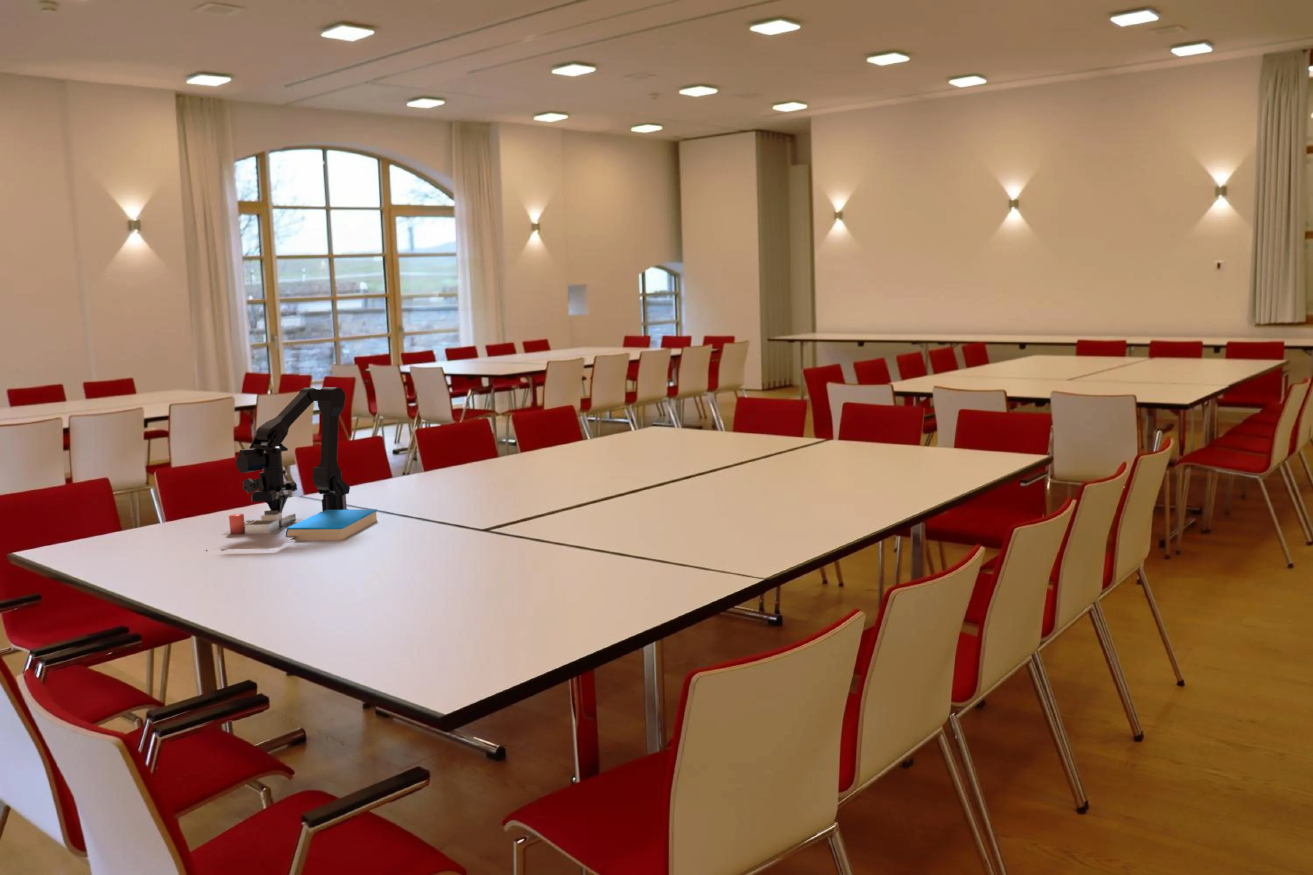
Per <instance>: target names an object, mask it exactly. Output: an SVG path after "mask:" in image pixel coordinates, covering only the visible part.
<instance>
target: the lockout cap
mask: <svg viewBox="0 0 1313 875" xmlns="http://www.w3.org/2000/svg"><path fill="white" fill-rule="evenodd" d="M244 516H245V514H244V513H234V514H233V513H232V514H229V515H228V521H229V522H228V523H229V531H230V533H231V534H238V533H243V532H245V523H244V522H245V517H244Z"/></svg>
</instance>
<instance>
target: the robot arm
mask: <svg viewBox="0 0 1313 875" xmlns="http://www.w3.org/2000/svg"><path fill="white" fill-rule="evenodd" d="M346 398H347V396H346V392H345V391H344V390H343V388H341V387H329V386H327V387H326V386H323V387H321V388H313V387H303V388H302V389H300V390H299V393H298V394H297V395H296V396H295V397H294V398H293V399H292V400H291V401H290V402H289V403H288V404H287V405H286V406H285V408H283V409H282V411H280V412H279V414H277V416H275V417H274V418H271V419H270V420H267V421H266V422H265V423H263V424H261V425H260V426H258V428H257V429H256V431H255V436H254V438H253V440H252V442H251V444H250V446H249V448H247V449H244V448H243V449H242V448H241V449H239V454H238V455H237V457H236V460H235V465H236V469H237V470H238V472H239V473H241V474H246V473H247V474H248V473H252V472H258V471H261V470H262V472H259V477H257V478H255V479H252V478H251V477H250V478H247V479H244V480H243V482H242V490H244V491H246V493H247V494H251V495H250V497H251V502H253V503H255V502H256V503H257V502H258V503H259V502H261V503H262V502H264V503H266V504H267V506H268V508H269V509H270V510H278V513H282V514H283V510H284V508H285V505H286V502H287V501H288V498H289V497H290V494H289V493H288V494H287V493H285V491H291V492H296V491H297V490H298V484H297V483H296V482H295V481H294V480H285V476H284V475H285V474H286V473H287V471H286V469H284V467H283V466H284V465H283V455H282V452H288V451H289V449H288V447H286V446H285V445H284V444H283V442H284V440H285V439H286V438H287V436H288V434H289V429H290V428H291V426H292V425H293V424H294V423H295V421H296V420H297V419H298V418H300V416H301V415H303V413H304V412H305V411H306V410H307V409H308V408H309V407H310V406H311V405H312V404H313V403H314V402H317V407H318V410H319V411H320V414H321V417H322V418H321V439H320V440H321V441H320V443H321V445H320V461H319V463H318V465H317V466H313V469H312V473H313V474H312V479H311V481H313V485H314V486H315V488H316V489H317V491H318V494H319V495H322V499H321V508H322V511H324V510H350V509H349V508H348V507H347V495H349V494H350V489H351V487H350V486H349V485H348V484H347V483H346V482H345V481H344V480H343V475H342V474H343V473H342V470H341V468H340V466H339V462H338V445H339V422H340V420H339V419H340V415H341V413H342V412H343V410H344V408H345V404H346ZM322 511H321V512H322Z"/></svg>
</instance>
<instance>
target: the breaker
mask: <svg viewBox="0 0 1313 875" xmlns="http://www.w3.org/2000/svg"><path fill="white" fill-rule="evenodd" d="M282 518H283V512H282V513H278V510H268V509H267V510H265V511H264V514H262V515H260V519H261V520H280V519H282Z"/></svg>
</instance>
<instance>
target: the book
mask: <svg viewBox="0 0 1313 875" xmlns="http://www.w3.org/2000/svg"><path fill="white" fill-rule="evenodd" d="M377 511H378V509H377V508H376V509H374V508H373V509H372V508H371V509H363V508H362V509H349V510H324V511H320V512H318V513H316V514H314V515H311V516H309V517H308V518H307V517H306V518H305V519H302V520H301V521H299V522H297V523H295V524H293V525H291V526H289V527H287V528H286V531H285V536H286V537H289V536H292V538H290V539H289V541H309V540H310V541H311V540H313V541H315V540H316V541H318V540H320V541H323V540H324V541H326V540H328V541H329V540H331V541H333V540H334V541H335V540H339V541H341V540H344V539H345V538H346V539H347V537H349V536H352V535H353V534H355V533H356V532H358V531H361V530H363V529H364V528H366V527H368V526H369V525H371V524H373V523H375V522H377V521H378V520H377V517H378V516H377ZM293 536H294V537H293Z"/></svg>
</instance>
